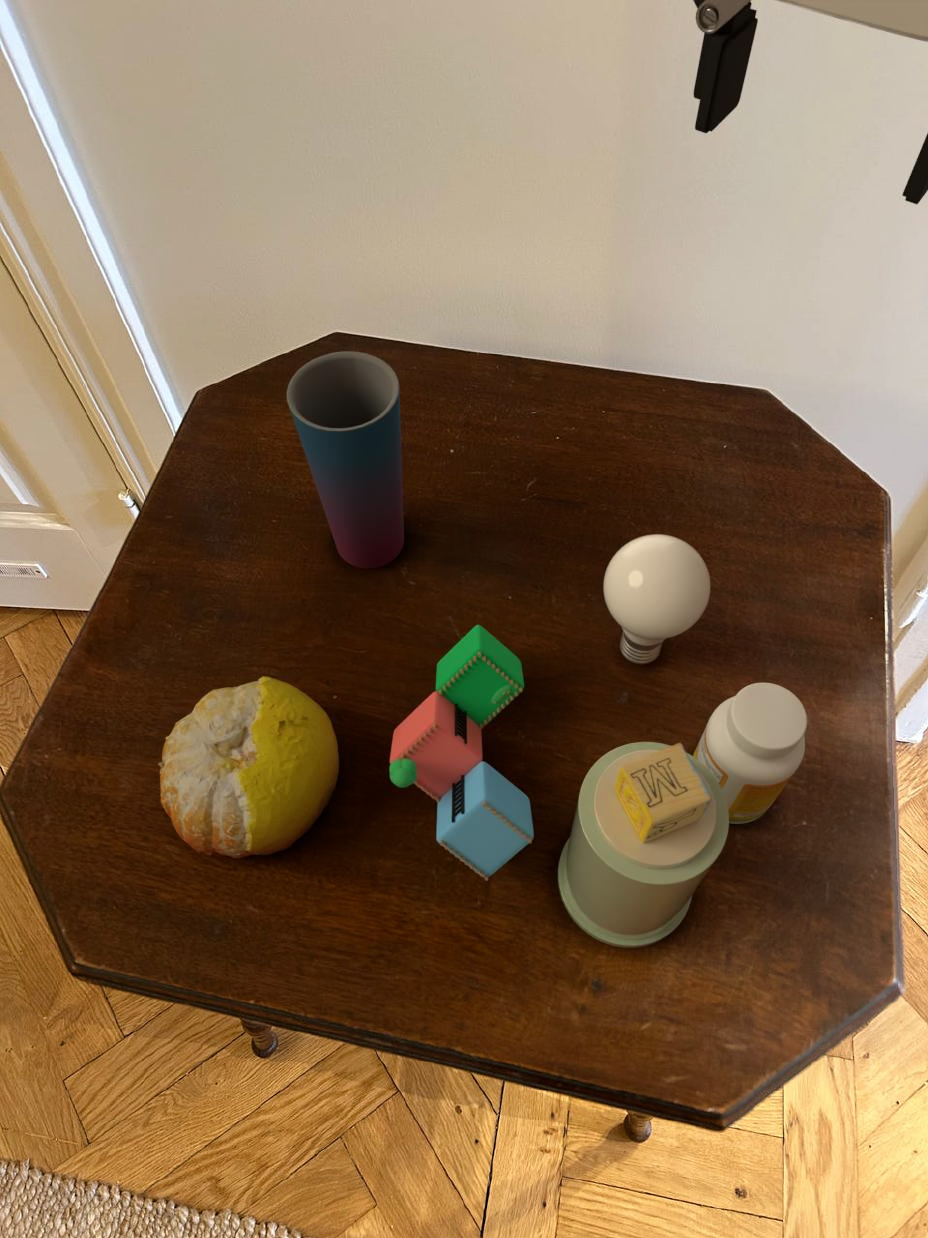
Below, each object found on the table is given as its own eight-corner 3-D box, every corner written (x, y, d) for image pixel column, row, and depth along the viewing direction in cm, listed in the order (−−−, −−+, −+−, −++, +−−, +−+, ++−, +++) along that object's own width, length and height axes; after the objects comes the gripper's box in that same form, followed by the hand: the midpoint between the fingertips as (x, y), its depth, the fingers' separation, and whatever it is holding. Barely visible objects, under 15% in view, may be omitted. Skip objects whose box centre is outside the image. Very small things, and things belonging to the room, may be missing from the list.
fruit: (228, 673, 61) (231, 623, 54) (360, 754, 61) (381, 715, 54) (121, 814, 55) (109, 779, 48) (267, 904, 55) (276, 882, 48)
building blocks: (481, 771, 62) (486, 885, 51) (392, 699, 60) (377, 801, 49) (564, 696, 60) (587, 798, 49) (474, 618, 58) (478, 706, 47)
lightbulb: (574, 635, 62) (588, 537, 53) (651, 599, 64) (679, 498, 55) (624, 708, 59) (649, 618, 50) (704, 668, 61) (743, 573, 51)
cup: (406, 584, 65) (386, 436, 52) (314, 573, 66) (273, 424, 53) (423, 510, 69) (409, 356, 56) (336, 501, 69) (302, 346, 57)
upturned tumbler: (714, 863, 54) (766, 786, 44) (649, 977, 50) (689, 922, 40) (601, 792, 56) (625, 703, 46) (531, 895, 53) (541, 824, 43)
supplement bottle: (785, 769, 57) (836, 697, 49) (754, 842, 54) (801, 779, 46) (705, 730, 58) (740, 654, 50) (671, 799, 56) (702, 731, 48)
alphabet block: (701, 822, 43) (714, 798, 40) (642, 846, 42) (652, 824, 40) (669, 766, 44) (680, 739, 42) (612, 789, 44) (619, 763, 41)
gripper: (1364, -431, 25) (1040, 172, 39) (772, -482, 30) (681, 60, 45) (1313, -367, 21) (981, 264, 36) (662, -438, 27) (602, 131, 41)
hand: (814, 151), depth 40 cm, fingers open, 9 cm apart
